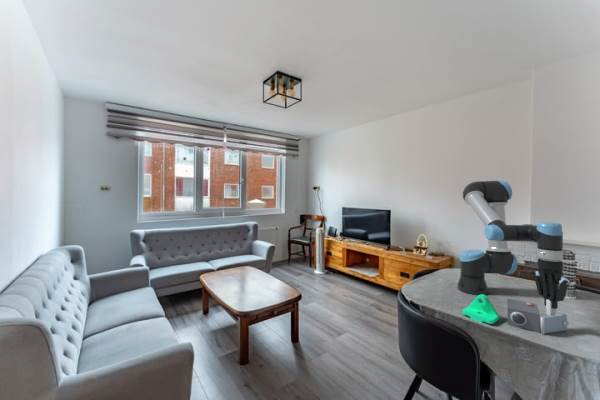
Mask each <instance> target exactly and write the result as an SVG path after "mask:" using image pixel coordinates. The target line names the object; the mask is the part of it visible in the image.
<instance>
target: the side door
mask: <svg viewBox="0 0 600 400" xmlns="http://www.w3.org/2000/svg"><path fill="white" fill-rule="evenodd" d="M567 319H568V316H567V314H566V313H564V314H563V313H562V314H556V315H553V316H549V315H546V316H540V334H542V335H545V334H552V333H557V332H564V331H565V332H567V331H568V326H569V320H567Z"/></svg>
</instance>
